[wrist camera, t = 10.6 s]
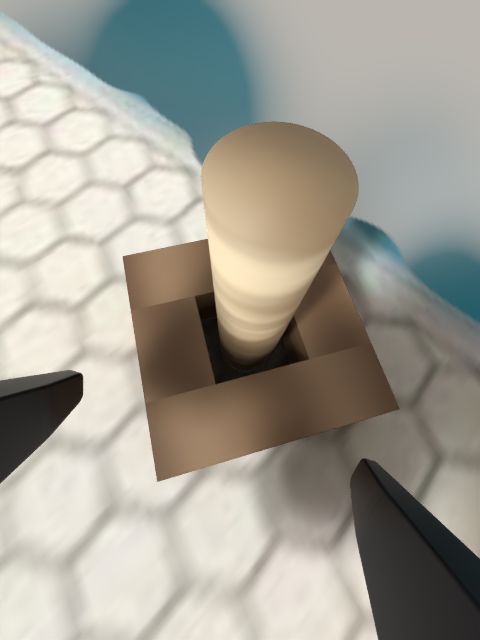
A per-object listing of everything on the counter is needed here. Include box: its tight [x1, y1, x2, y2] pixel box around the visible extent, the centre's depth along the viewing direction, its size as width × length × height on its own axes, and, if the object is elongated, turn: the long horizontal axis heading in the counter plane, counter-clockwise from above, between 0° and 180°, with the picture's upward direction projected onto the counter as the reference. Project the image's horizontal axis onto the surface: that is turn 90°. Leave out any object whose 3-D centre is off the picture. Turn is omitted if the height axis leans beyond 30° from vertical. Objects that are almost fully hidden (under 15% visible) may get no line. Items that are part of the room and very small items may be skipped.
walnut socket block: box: [123, 239, 399, 482], centre depth 18 cm, size 12×12×4 cm
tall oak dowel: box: [201, 122, 358, 372], centre depth 13 cm, size 3×3×14 cm
